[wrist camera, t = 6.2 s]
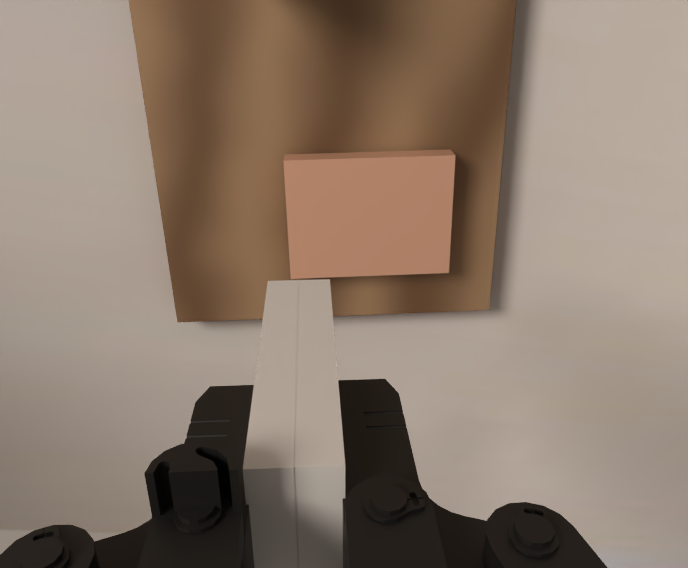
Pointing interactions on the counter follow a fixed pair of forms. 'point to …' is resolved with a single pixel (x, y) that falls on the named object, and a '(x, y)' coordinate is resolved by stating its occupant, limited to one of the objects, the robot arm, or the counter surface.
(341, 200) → the tile
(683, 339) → the counter surface
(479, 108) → the board
